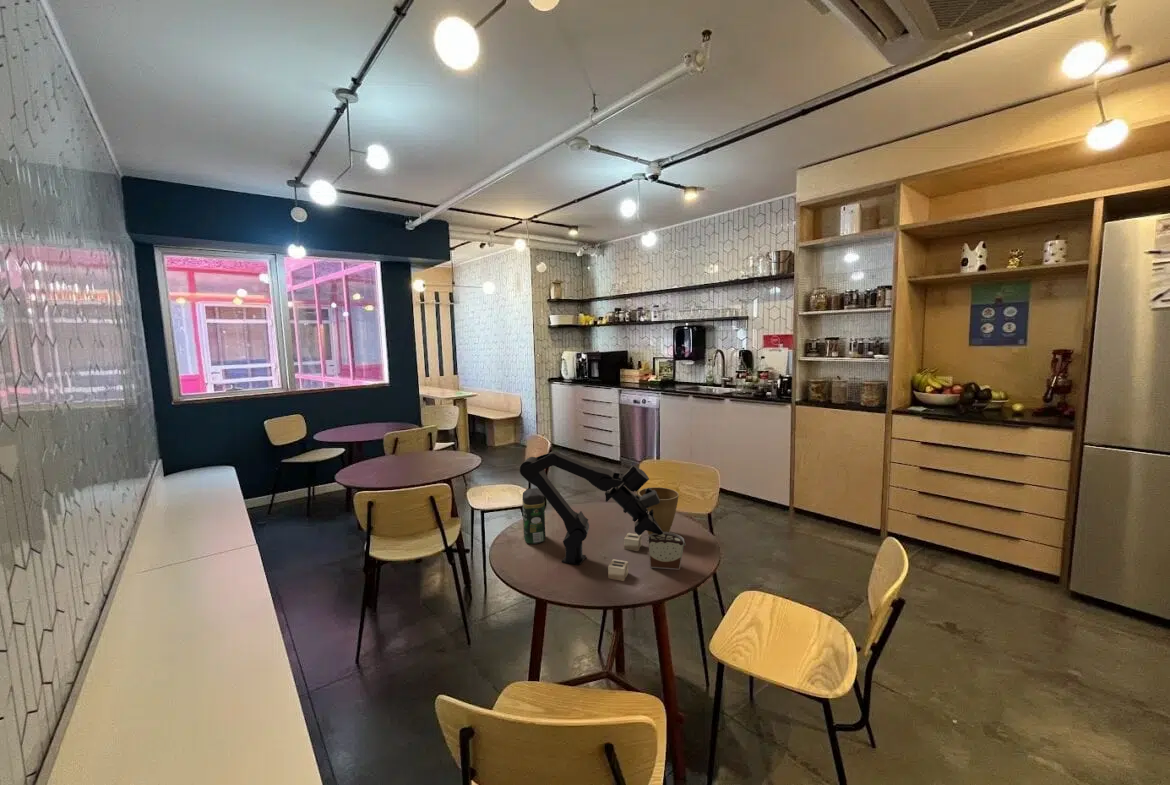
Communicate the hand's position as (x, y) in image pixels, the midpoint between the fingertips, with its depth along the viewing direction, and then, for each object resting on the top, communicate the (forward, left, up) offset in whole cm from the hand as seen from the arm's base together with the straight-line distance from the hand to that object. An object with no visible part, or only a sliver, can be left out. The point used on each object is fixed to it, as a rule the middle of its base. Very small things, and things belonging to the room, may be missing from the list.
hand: (662, 533), depth 153 cm
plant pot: (+23, +6, -11) cm, 26 cm away
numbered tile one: (+9, +12, -11) cm, 19 cm away
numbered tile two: (-12, +11, -11) cm, 19 cm away
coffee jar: (+3, +48, -11) cm, 49 cm away
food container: (0, -1, -11) cm, 11 cm away
